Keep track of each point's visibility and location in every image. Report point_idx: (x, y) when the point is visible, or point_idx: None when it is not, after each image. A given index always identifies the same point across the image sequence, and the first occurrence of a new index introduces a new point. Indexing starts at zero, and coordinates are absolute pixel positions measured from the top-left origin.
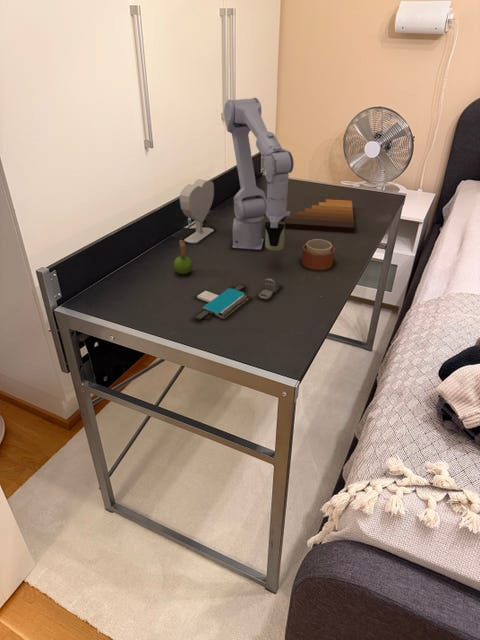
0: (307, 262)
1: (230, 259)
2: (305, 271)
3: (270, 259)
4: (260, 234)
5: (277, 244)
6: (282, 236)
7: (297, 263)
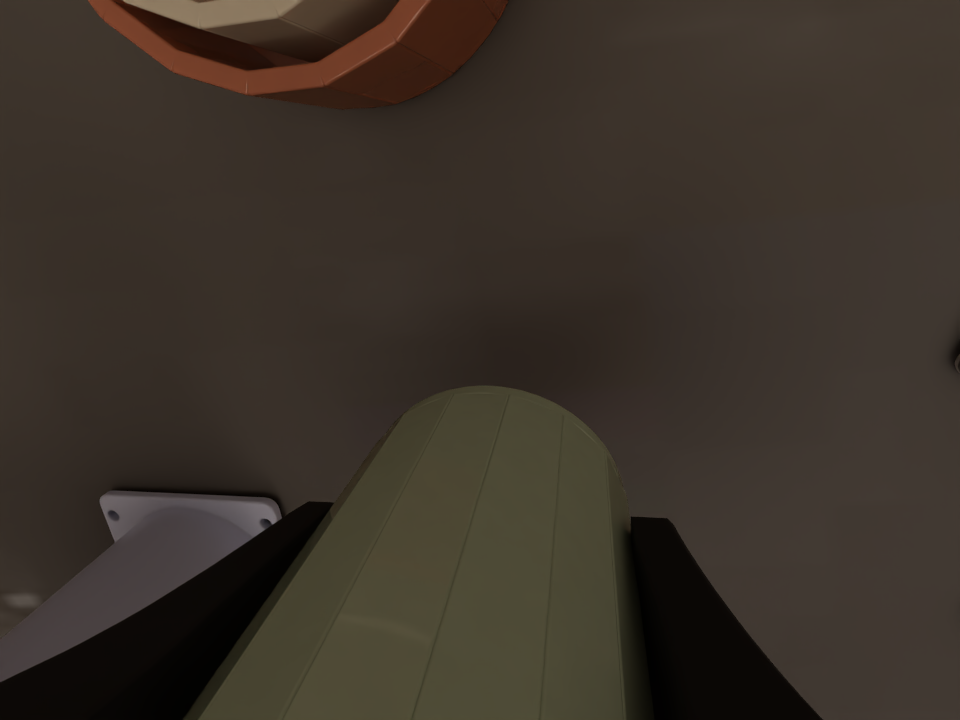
0: (489, 5)
1: None
2: (595, 27)
3: None
4: (141, 585)
5: (682, 541)
6: (556, 547)
7: (423, 151)
